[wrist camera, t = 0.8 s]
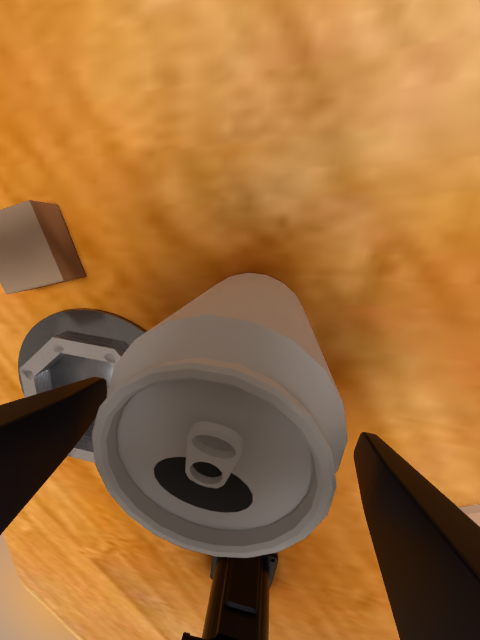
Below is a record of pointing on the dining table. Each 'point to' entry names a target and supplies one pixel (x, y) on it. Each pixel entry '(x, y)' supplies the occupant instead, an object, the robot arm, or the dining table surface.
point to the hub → (74, 355)
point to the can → (224, 423)
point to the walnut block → (35, 248)
